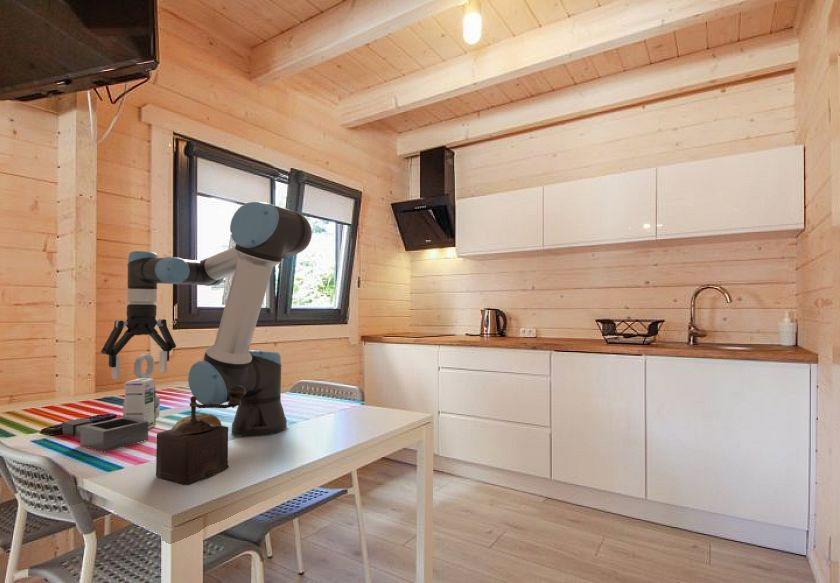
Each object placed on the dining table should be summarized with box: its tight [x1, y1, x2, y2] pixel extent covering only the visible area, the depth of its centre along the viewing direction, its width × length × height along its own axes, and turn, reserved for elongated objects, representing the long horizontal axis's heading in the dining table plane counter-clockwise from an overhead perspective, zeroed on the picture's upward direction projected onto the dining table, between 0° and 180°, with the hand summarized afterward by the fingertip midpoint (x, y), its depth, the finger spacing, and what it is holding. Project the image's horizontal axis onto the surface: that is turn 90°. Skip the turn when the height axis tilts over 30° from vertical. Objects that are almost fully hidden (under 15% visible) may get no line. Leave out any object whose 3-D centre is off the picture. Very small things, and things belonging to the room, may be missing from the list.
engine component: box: [122, 353, 161, 419], centre depth 145 cm, size 11×20×10 cm
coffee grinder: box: [155, 385, 246, 486], centre depth 99 cm, size 16×11×18 cm
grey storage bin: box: [61, 416, 149, 453], centre depth 122 cm, size 28×11×5 cm, turn 61°
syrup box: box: [124, 377, 157, 430], centre depth 132 cm, size 6×6×14 cm
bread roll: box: [171, 413, 223, 429], centre depth 116 cm, size 10×15×8 cm, turn 157°
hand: (140, 375), depth 132 cm, fingers open, 13 cm apart
